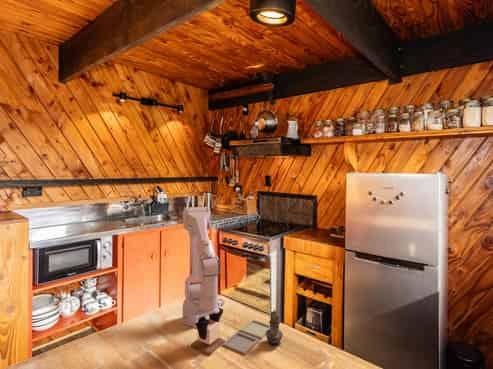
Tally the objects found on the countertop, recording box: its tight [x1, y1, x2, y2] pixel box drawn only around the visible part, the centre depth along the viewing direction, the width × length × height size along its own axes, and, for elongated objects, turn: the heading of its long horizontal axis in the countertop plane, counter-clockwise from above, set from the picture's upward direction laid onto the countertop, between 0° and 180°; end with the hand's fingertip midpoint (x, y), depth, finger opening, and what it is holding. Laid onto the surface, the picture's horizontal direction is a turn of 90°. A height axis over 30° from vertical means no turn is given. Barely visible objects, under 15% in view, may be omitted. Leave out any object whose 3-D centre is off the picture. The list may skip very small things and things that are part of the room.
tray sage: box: [239, 318, 270, 340], centre depth 108 cm, size 9×9×1 cm
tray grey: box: [222, 330, 261, 356], centre depth 99 cm, size 9×9×1 cm
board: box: [190, 337, 226, 356], centre depth 98 cm, size 8×8×1 cm
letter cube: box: [197, 319, 220, 345], centre depth 98 cm, size 5×5×5 cm
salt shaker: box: [265, 309, 284, 348], centre depth 99 cm, size 6×6×12 cm
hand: (208, 334), depth 98 cm, fingers closed on letter cube, 5 cm apart
